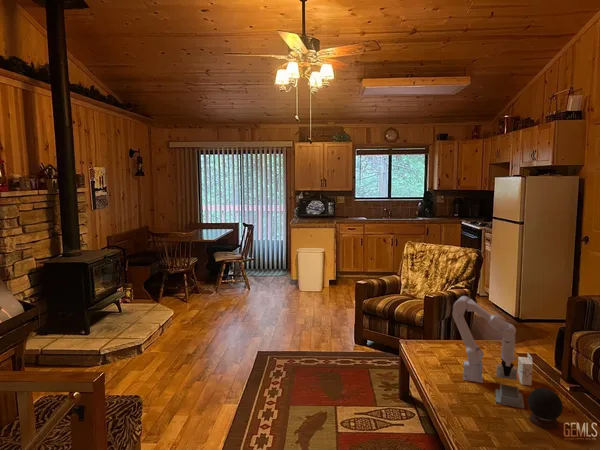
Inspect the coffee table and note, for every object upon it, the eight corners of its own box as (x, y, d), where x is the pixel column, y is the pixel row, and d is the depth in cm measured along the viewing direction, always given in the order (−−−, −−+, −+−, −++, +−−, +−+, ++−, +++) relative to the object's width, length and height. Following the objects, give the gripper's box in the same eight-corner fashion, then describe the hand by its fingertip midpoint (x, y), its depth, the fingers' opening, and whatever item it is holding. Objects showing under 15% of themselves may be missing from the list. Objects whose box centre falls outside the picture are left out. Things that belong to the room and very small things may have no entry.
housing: (496, 376, 217) (497, 366, 216) (496, 373, 221) (497, 362, 220) (516, 380, 213) (517, 369, 213) (515, 376, 217) (516, 366, 216)
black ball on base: (547, 433, 178) (549, 400, 176) (520, 417, 190) (522, 385, 188) (568, 426, 183) (570, 393, 181) (540, 411, 195) (542, 380, 193)
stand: (495, 403, 202) (496, 394, 201) (495, 390, 214) (495, 382, 213) (524, 408, 197) (524, 400, 197) (522, 395, 209) (522, 387, 208)
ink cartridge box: (516, 377, 228) (518, 351, 226) (526, 378, 227) (528, 351, 225) (521, 384, 219) (523, 357, 218) (531, 385, 219) (533, 358, 217)
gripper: (517, 355, 207) (516, 381, 209) (515, 344, 220) (514, 369, 222) (501, 353, 210) (500, 379, 211) (500, 342, 223) (499, 367, 225)
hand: (506, 374), depth 217 cm, fingers closed on housing, 4 cm apart
